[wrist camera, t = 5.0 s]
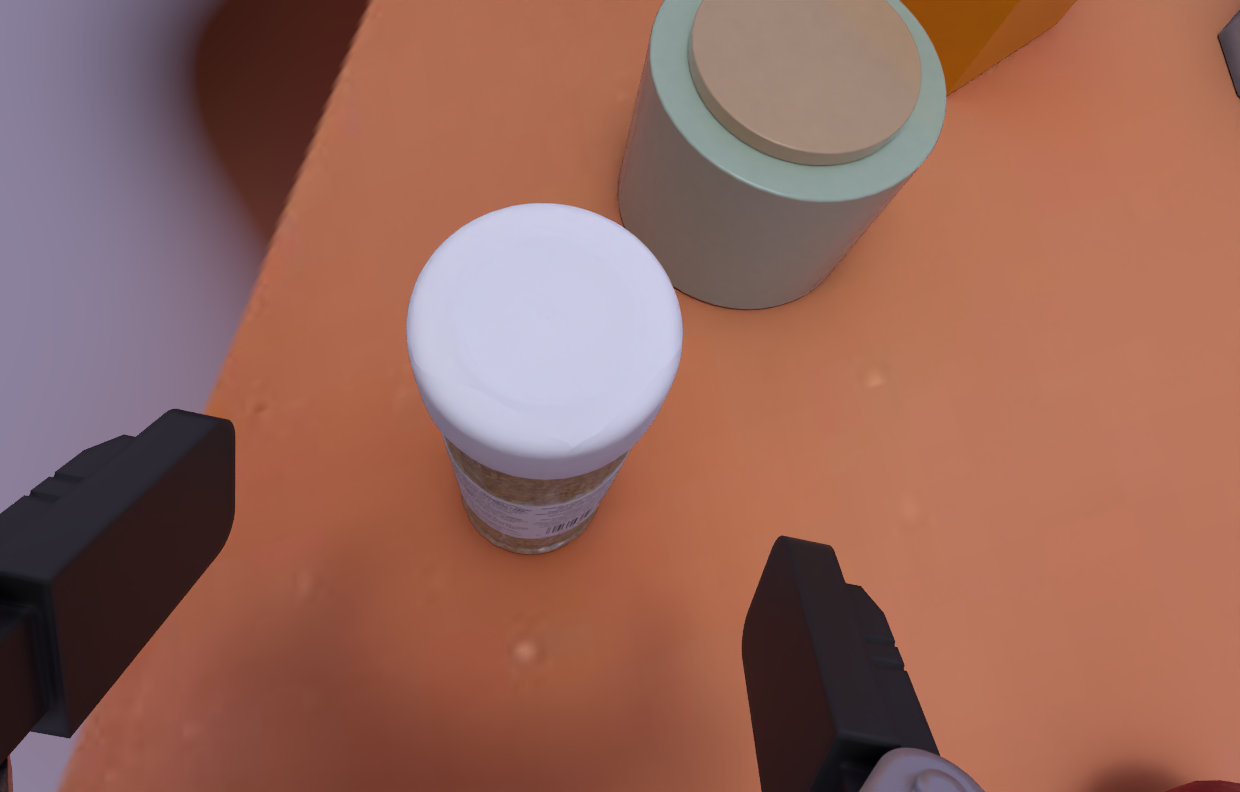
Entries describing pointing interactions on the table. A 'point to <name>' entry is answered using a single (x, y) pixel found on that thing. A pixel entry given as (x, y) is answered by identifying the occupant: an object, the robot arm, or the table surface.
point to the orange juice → (982, 31)
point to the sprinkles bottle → (541, 364)
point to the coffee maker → (1232, 48)
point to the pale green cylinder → (774, 139)
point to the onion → (1208, 787)
